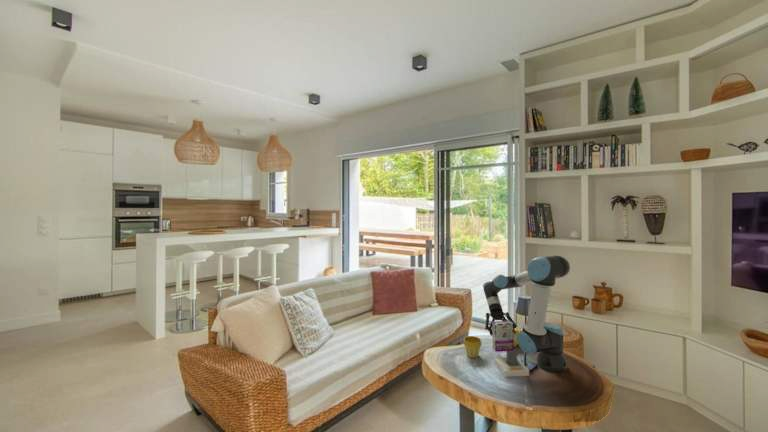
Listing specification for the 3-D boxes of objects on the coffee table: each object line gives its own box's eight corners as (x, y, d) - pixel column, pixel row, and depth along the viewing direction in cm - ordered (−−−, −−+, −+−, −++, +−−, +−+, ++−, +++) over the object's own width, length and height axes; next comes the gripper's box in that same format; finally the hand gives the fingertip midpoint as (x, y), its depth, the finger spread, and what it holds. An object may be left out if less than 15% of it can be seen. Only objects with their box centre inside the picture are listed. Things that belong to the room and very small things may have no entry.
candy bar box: (509, 347, 195) (509, 320, 195) (513, 350, 190) (514, 323, 190) (491, 348, 194) (491, 321, 194) (495, 352, 189) (495, 324, 189)
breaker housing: (516, 362, 189) (516, 354, 189) (529, 375, 174) (529, 367, 174) (494, 362, 189) (494, 355, 188) (505, 376, 174) (505, 368, 173)
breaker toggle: (515, 362, 182) (515, 349, 182) (518, 365, 178) (518, 353, 178) (504, 362, 182) (504, 350, 182) (507, 366, 178) (507, 353, 178)
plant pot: (479, 351, 204) (478, 335, 203) (483, 359, 193) (483, 342, 193) (462, 351, 204) (462, 335, 204) (466, 359, 194) (465, 343, 193)
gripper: (511, 307, 207) (522, 342, 193) (474, 308, 206) (483, 343, 192) (514, 302, 202) (526, 337, 187) (477, 303, 201) (486, 338, 186)
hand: (504, 340), depth 189 cm, fingers closed on candy bar box, 11 cm apart
